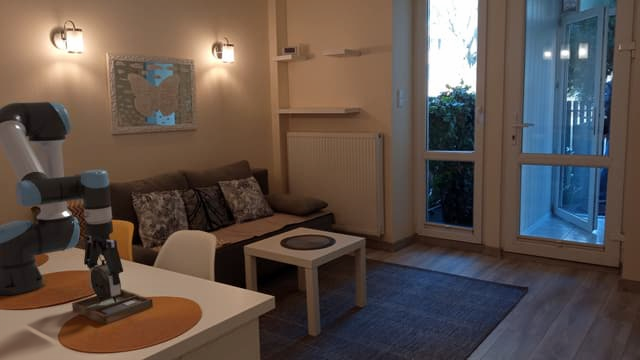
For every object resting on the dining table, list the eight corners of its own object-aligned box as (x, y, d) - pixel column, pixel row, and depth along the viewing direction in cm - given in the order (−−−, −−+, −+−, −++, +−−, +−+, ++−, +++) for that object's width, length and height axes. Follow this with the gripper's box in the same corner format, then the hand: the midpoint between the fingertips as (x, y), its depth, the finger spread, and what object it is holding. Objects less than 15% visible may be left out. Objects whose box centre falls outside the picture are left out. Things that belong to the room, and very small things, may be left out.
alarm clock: (123, 303, 158) (119, 251, 156) (106, 308, 154) (101, 256, 152) (106, 295, 165) (101, 246, 163) (89, 300, 161) (84, 250, 159)
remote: (101, 317, 151) (101, 309, 151) (135, 305, 160) (134, 298, 159) (109, 320, 149) (108, 312, 148) (142, 308, 157) (142, 301, 157)
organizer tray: (73, 313, 157) (71, 303, 157) (120, 297, 169) (119, 288, 169) (105, 327, 146) (104, 316, 146) (152, 309, 158) (152, 299, 158)
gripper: (67, 219, 160) (74, 287, 163) (108, 228, 146) (114, 302, 149) (90, 215, 166) (97, 280, 169) (131, 223, 152) (137, 294, 155)
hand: (105, 291), depth 159 cm, fingers closed on alarm clock, 11 cm apart
